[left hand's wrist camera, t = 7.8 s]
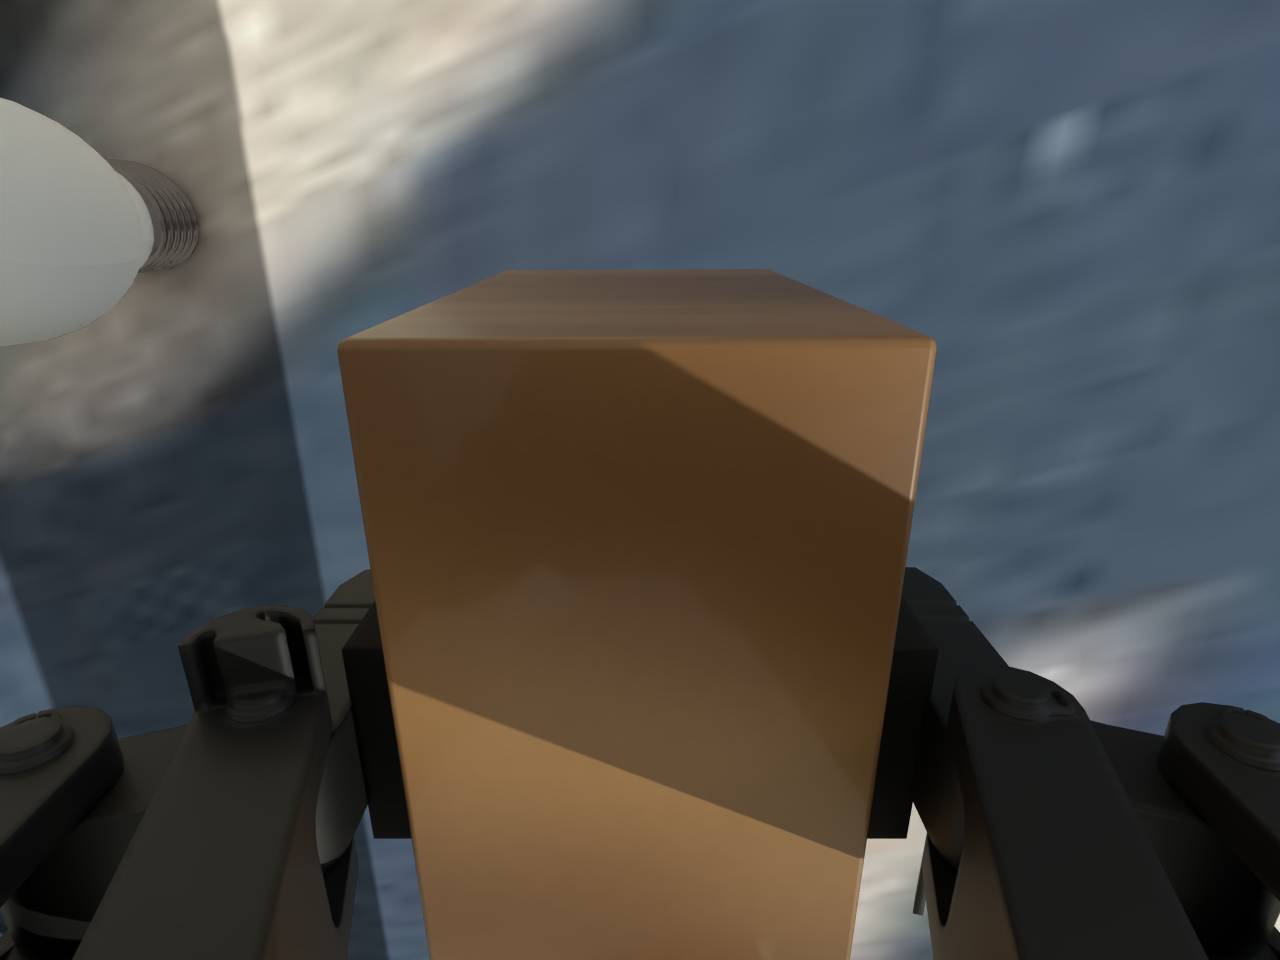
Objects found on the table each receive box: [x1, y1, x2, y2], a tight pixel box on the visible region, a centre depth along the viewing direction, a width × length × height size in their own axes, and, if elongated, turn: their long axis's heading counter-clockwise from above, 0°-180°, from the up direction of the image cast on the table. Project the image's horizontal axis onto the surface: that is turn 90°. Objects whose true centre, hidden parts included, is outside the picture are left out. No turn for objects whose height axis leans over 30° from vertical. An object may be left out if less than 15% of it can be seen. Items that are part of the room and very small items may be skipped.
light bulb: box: [0, 98, 198, 347], centre depth 21 cm, size 7×7×11 cm
